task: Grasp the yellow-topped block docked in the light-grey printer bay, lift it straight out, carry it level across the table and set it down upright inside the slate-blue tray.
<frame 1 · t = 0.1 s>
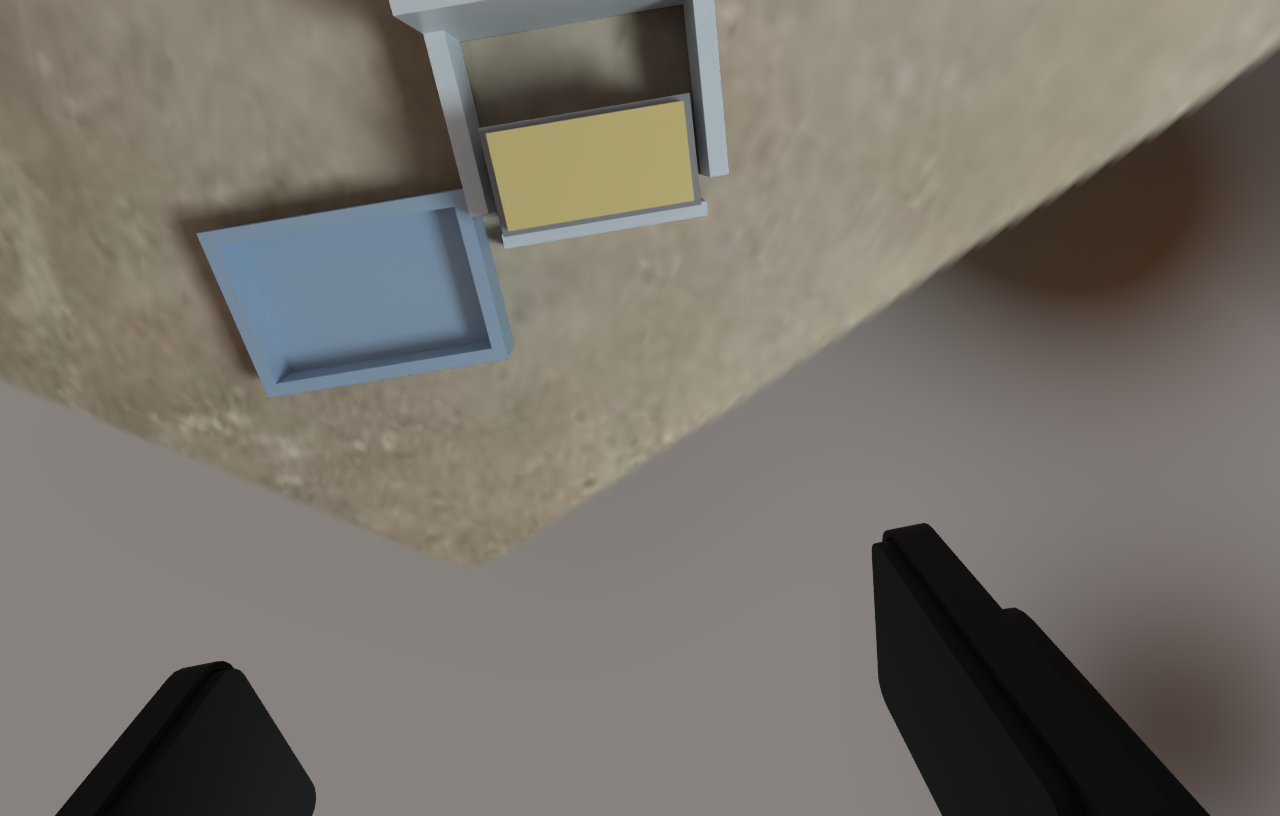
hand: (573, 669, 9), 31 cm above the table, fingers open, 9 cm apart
bay: (595, 163, 35), on the table
tray: (376, 289, 37), on the table
yellow-topped block: (595, 163, 35), resting in bay
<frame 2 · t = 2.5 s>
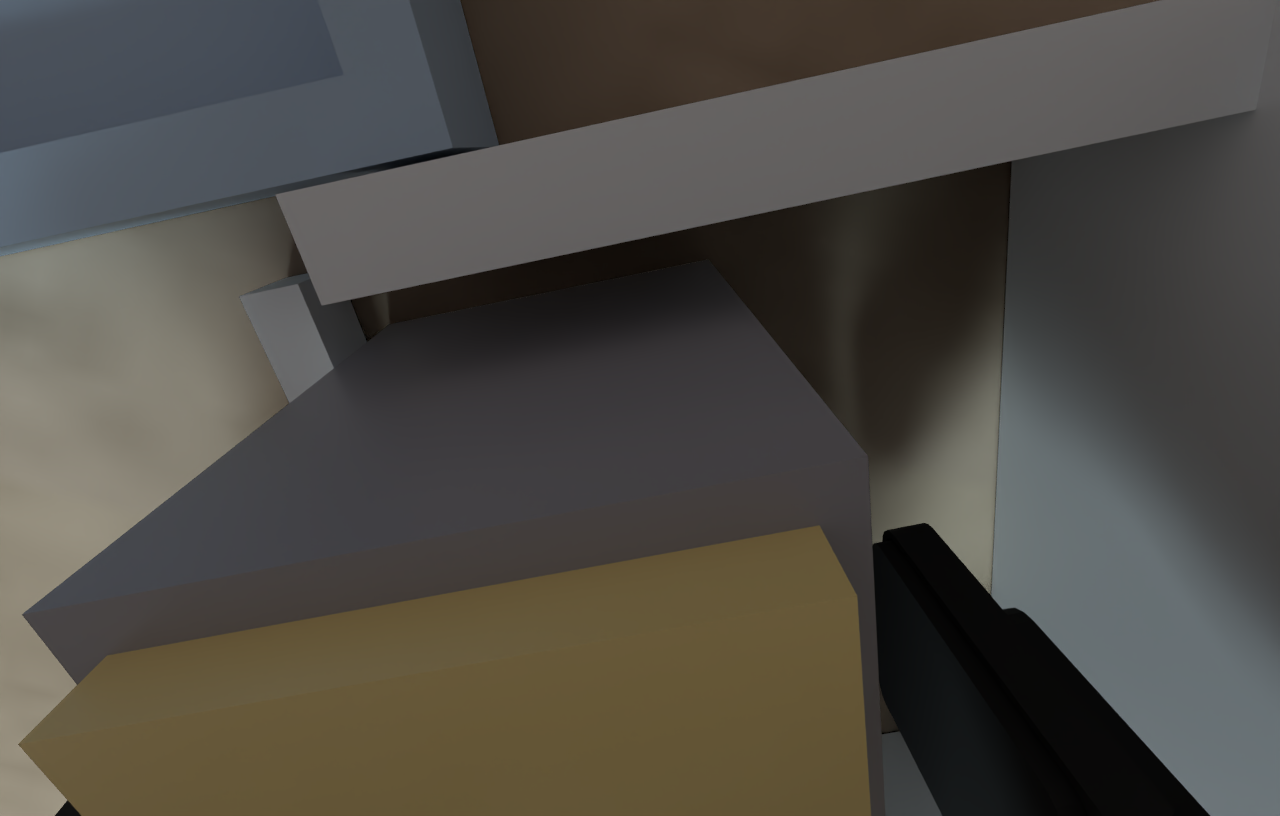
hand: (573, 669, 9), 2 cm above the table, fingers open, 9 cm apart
bay: (615, 556, 11), on the table
yellow-topped block: (615, 551, 11), resting in bay
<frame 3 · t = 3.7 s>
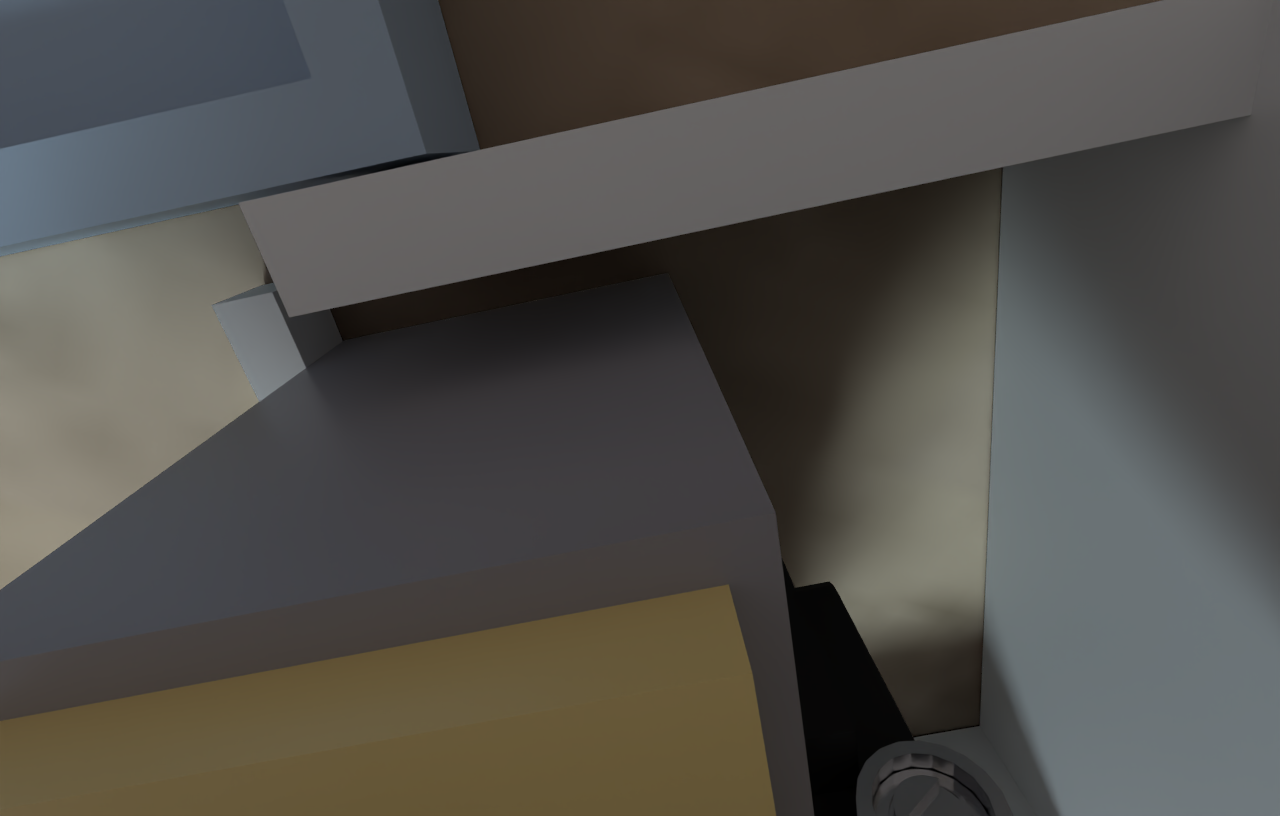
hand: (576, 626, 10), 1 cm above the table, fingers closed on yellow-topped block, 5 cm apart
bay: (603, 566, 11), on the table
yellow-topped block: (582, 570, 11), resting in bay, touching gripper
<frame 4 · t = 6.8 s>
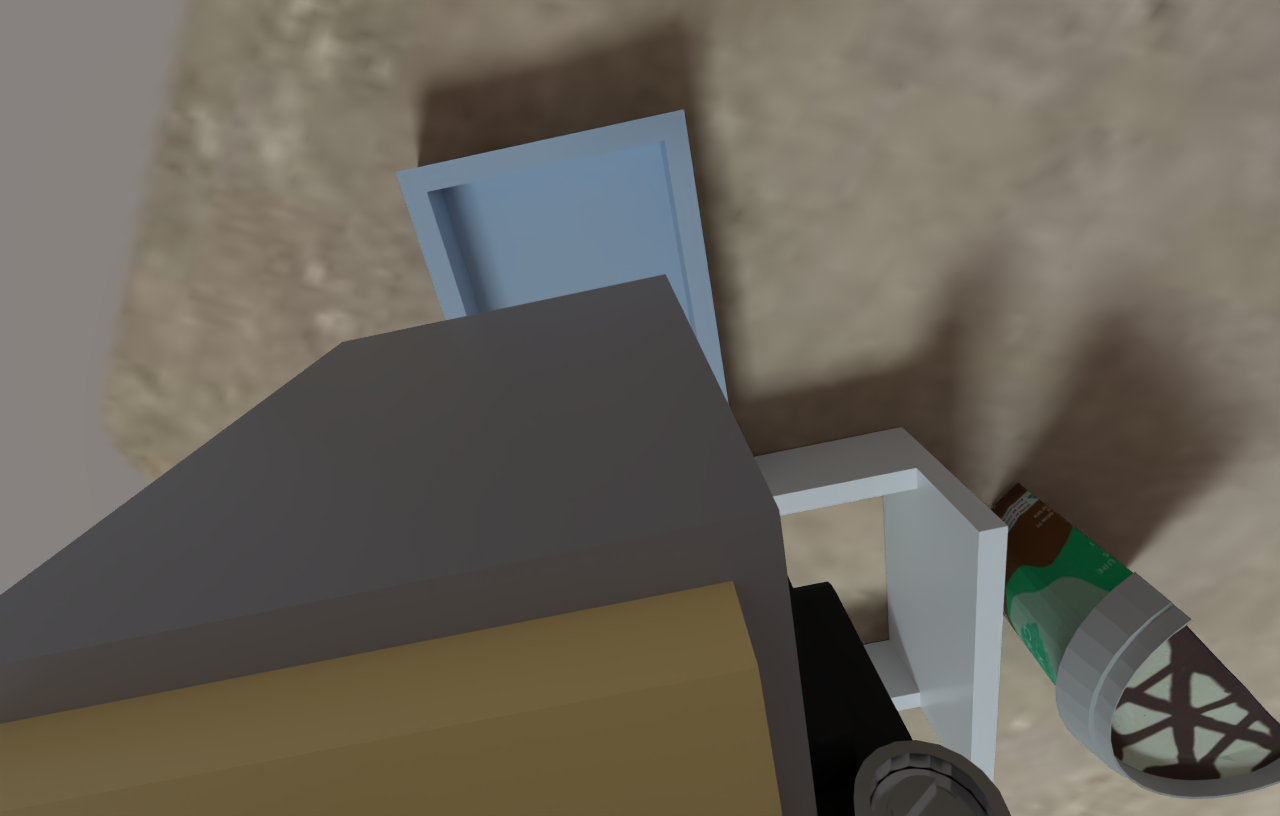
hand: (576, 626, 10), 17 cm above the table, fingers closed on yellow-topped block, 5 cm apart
bay: (750, 578, 31), on the table
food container: (1016, 569, 32), on the table
tray: (590, 330, 25), on the table
yellow-topped block: (580, 570, 11), point 16 cm above the table, touching gripper
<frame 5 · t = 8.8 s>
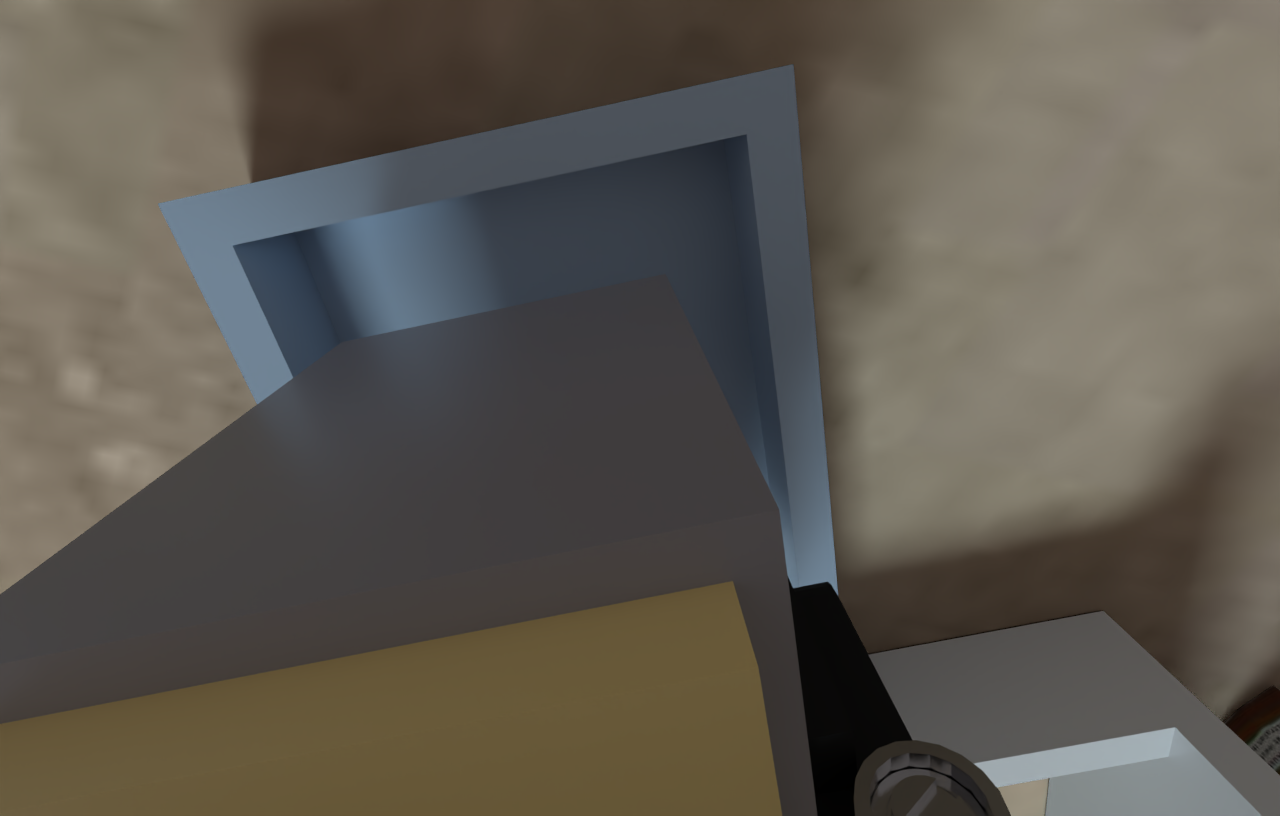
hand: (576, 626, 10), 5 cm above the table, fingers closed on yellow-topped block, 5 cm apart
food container: (1240, 794, 21), on the table
tray: (588, 472, 14), on the table
yellow-topped block: (580, 570, 11), point 4 cm above the table, touching gripper
when the fingers open (3 cm above the table, at t = 10.1 s): yellow-topped block stays where it is, resting on tray.
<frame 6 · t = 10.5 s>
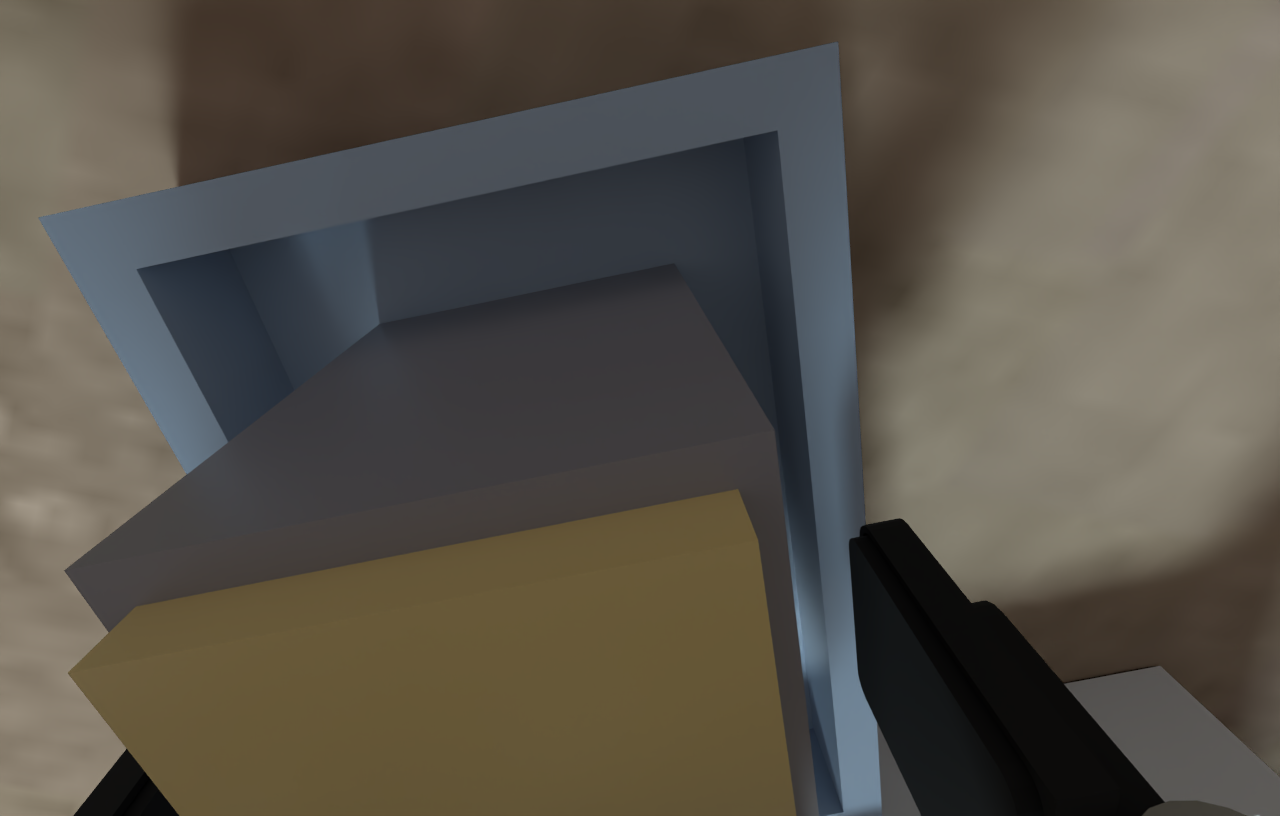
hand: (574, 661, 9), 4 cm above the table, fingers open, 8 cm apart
tray: (582, 520, 13), on the table
yellow-topped block: (592, 539, 12), point 1 cm above the table, touching tray
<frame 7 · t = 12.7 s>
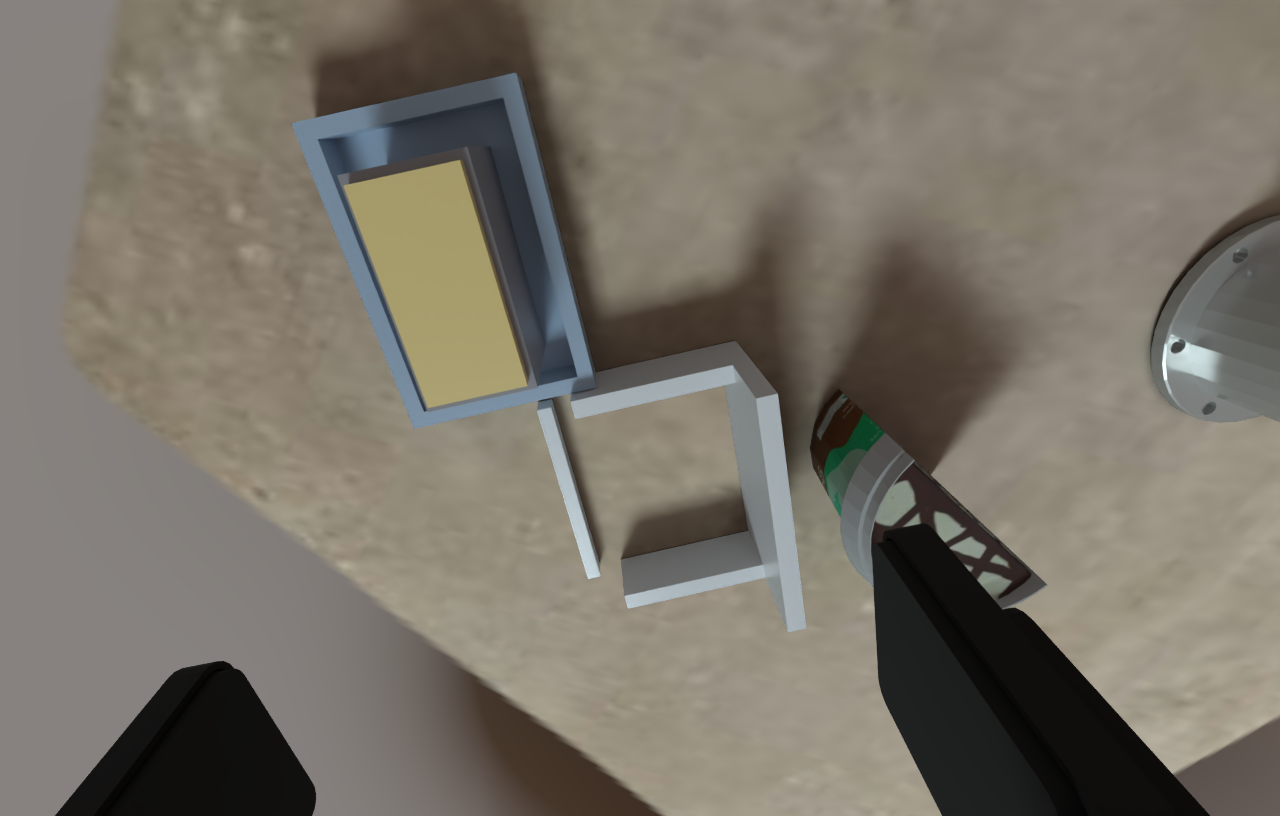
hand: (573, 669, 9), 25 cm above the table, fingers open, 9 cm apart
bay: (623, 476, 37), on the table
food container: (848, 466, 38), on the table
tray: (468, 259, 31), on the table
yellow-topped block: (471, 262, 31), point 1 cm above the table, touching tray
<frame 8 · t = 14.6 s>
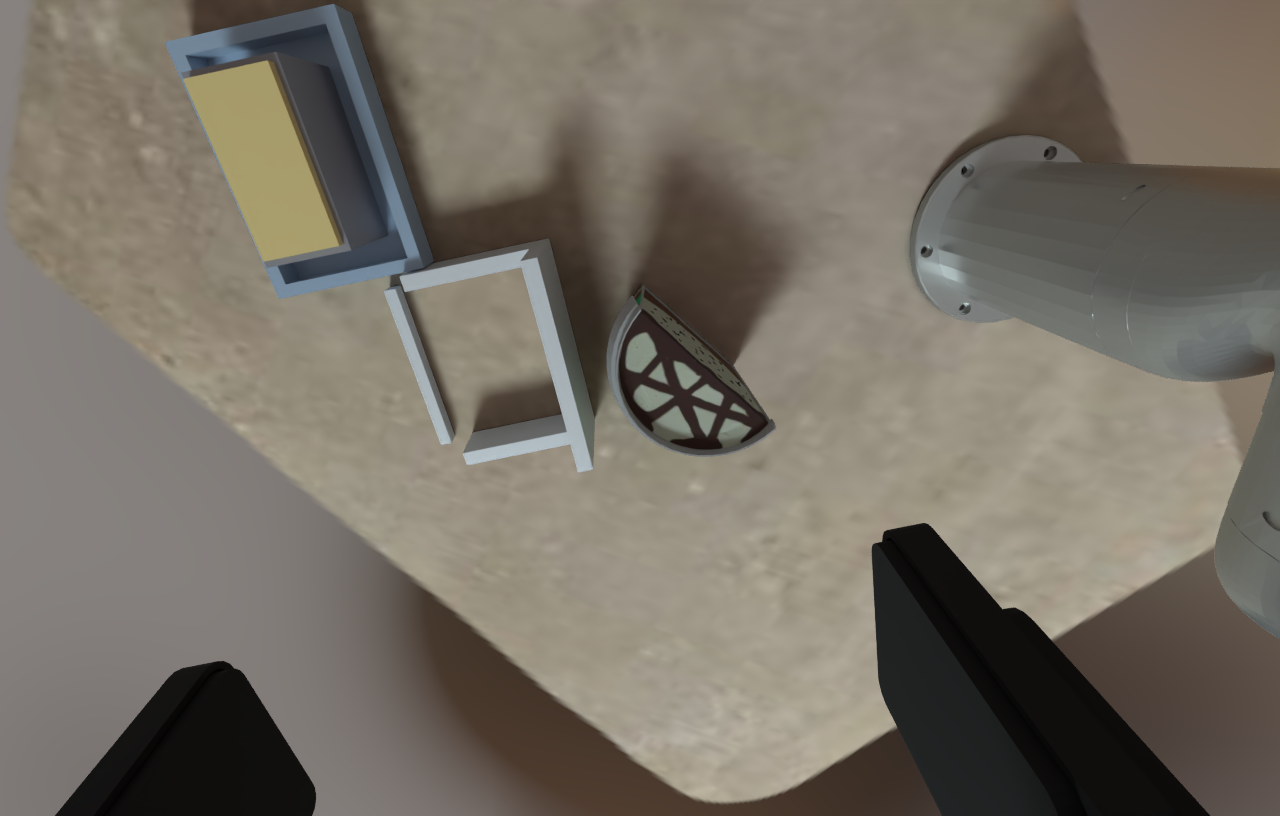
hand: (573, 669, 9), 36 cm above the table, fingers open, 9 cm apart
bay: (467, 356, 45), on the table
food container: (660, 355, 46), on the table
tray: (322, 162, 39), on the table
yellow-topped block: (322, 163, 38), point 1 cm above the table, touching tray
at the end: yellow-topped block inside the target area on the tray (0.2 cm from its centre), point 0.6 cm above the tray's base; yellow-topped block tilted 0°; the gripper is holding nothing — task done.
